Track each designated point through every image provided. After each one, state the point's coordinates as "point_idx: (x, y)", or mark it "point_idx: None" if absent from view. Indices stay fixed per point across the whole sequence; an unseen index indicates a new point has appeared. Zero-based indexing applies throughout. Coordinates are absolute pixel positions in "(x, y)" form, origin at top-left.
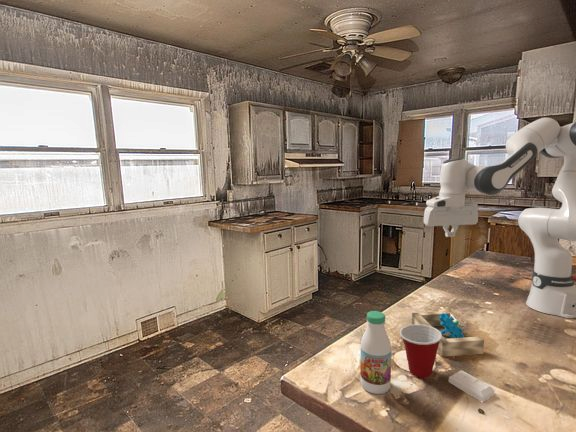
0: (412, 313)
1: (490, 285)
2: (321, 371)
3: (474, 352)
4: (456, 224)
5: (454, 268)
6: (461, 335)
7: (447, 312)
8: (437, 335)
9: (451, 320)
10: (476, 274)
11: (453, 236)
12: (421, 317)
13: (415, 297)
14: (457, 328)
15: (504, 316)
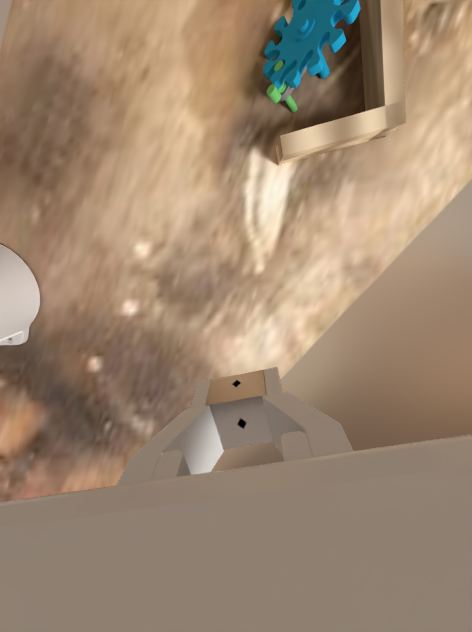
0: (404, 121)
1: (93, 413)
2: None
3: None
4: (144, 488)
5: None
6: (274, 43)
7: (286, 141)
8: None
9: (301, 55)
10: (108, 477)
11: (211, 381)
12: (388, 85)
13: (309, 328)
14: (283, 50)
15: (113, 223)
